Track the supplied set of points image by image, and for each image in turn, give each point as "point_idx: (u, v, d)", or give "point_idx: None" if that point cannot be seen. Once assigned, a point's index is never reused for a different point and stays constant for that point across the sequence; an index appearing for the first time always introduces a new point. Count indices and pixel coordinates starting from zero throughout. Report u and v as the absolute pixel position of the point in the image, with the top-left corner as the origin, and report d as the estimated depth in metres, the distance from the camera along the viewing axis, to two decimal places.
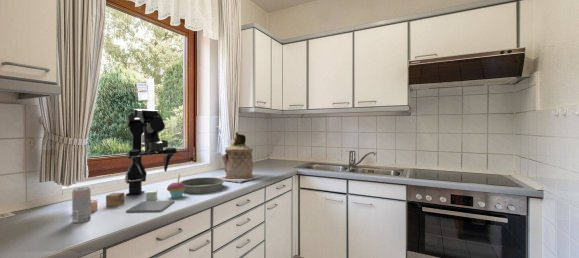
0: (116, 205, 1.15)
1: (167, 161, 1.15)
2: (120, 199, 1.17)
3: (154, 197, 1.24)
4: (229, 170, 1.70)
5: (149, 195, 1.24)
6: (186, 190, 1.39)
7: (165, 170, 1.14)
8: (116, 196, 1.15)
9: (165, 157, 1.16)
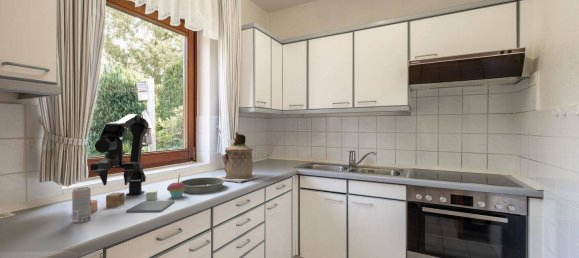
0: (116, 205, 1.15)
1: (125, 176, 1.16)
2: (120, 199, 1.17)
3: (154, 197, 1.24)
4: (229, 170, 1.70)
5: (149, 195, 1.24)
6: (186, 190, 1.39)
7: None
8: (116, 196, 1.15)
9: None
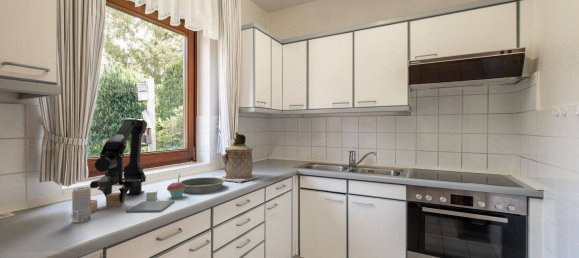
0: (116, 205, 1.14)
1: (121, 194, 1.16)
2: None
3: (154, 197, 1.24)
4: (229, 170, 1.70)
5: (149, 195, 1.24)
6: (186, 190, 1.39)
7: (120, 202, 1.16)
8: (116, 196, 1.15)
9: None
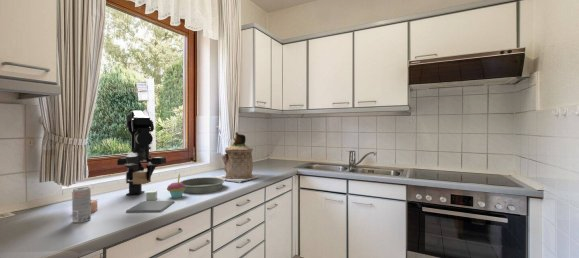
0: (143, 182, 1.11)
1: (148, 171, 1.13)
2: None
3: (154, 197, 1.24)
4: (229, 170, 1.71)
5: (149, 195, 1.24)
6: (186, 190, 1.39)
7: (147, 179, 1.13)
8: (143, 173, 1.11)
9: None
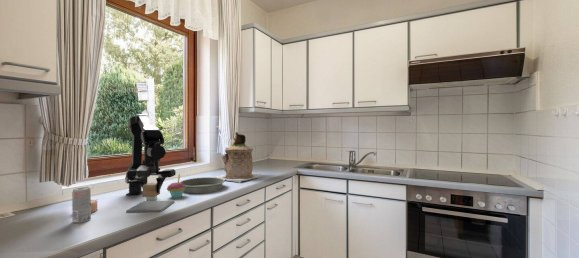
0: (153, 195, 1.11)
1: (158, 183, 1.12)
2: (156, 189, 1.13)
3: (154, 197, 1.24)
4: (229, 170, 1.71)
5: None
6: (186, 190, 1.39)
7: None
8: (153, 186, 1.11)
9: None
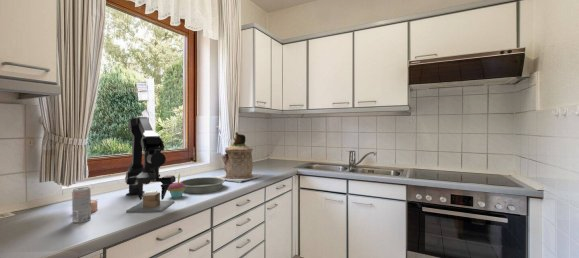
0: (153, 205, 1.11)
1: (162, 190, 1.13)
2: (157, 199, 1.13)
3: None
4: (229, 170, 1.71)
5: None
6: (186, 190, 1.39)
7: (161, 198, 1.13)
8: (153, 196, 1.11)
9: None
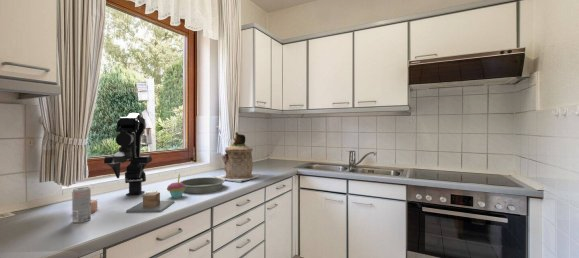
0: (153, 205, 1.11)
1: (139, 169, 1.18)
2: (157, 199, 1.13)
3: None
4: (229, 170, 1.71)
5: None
6: (186, 190, 1.39)
7: (137, 177, 1.19)
8: (153, 196, 1.11)
9: None
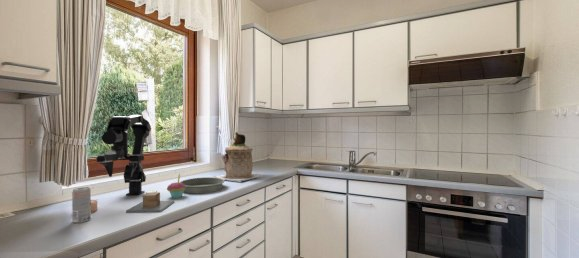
0: (153, 205, 1.11)
1: (130, 168, 1.20)
2: (157, 199, 1.13)
3: None
4: (229, 170, 1.72)
5: None
6: (186, 190, 1.39)
7: (129, 175, 1.20)
8: (153, 196, 1.11)
9: None
